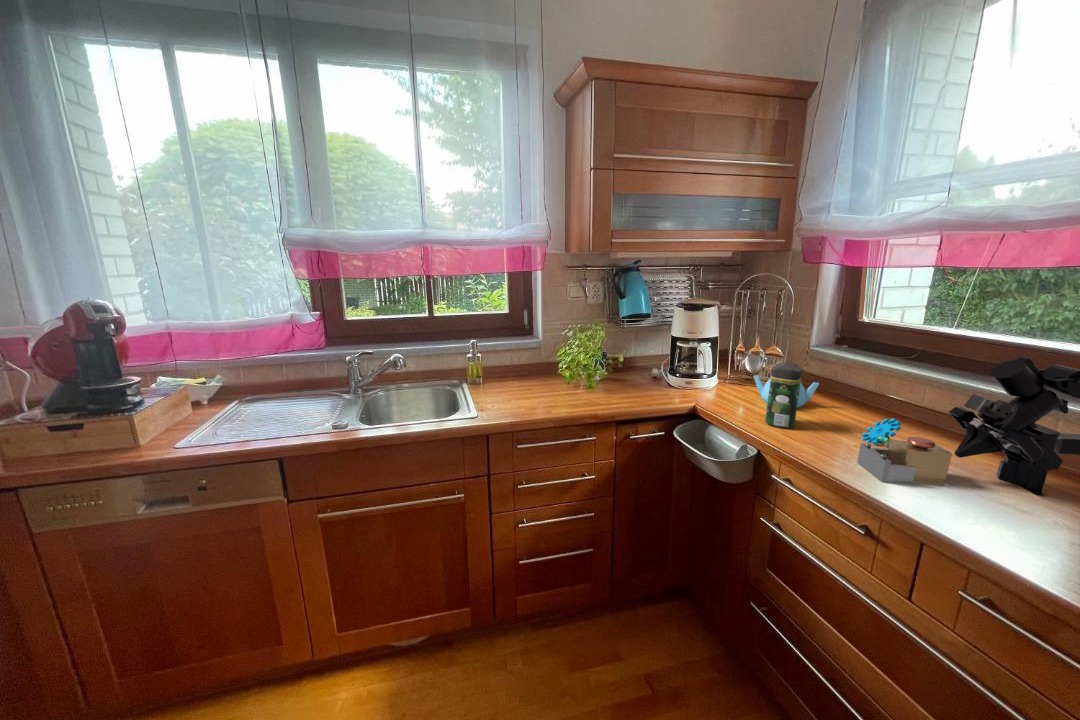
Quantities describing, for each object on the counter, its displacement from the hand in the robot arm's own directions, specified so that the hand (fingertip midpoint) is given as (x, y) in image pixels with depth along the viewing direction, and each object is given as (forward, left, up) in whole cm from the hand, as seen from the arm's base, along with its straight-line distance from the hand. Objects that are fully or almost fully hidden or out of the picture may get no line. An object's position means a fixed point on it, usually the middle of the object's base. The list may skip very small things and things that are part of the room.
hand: (956, 455), depth 101 cm
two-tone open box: (+9, +5, -6) cm, 12 cm away
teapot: (+41, -39, -7) cm, 57 cm away
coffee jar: (+38, -16, -7) cm, 42 cm away
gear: (+13, -15, -7) cm, 21 cm away
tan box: (+7, +4, -5) cm, 9 cm away
